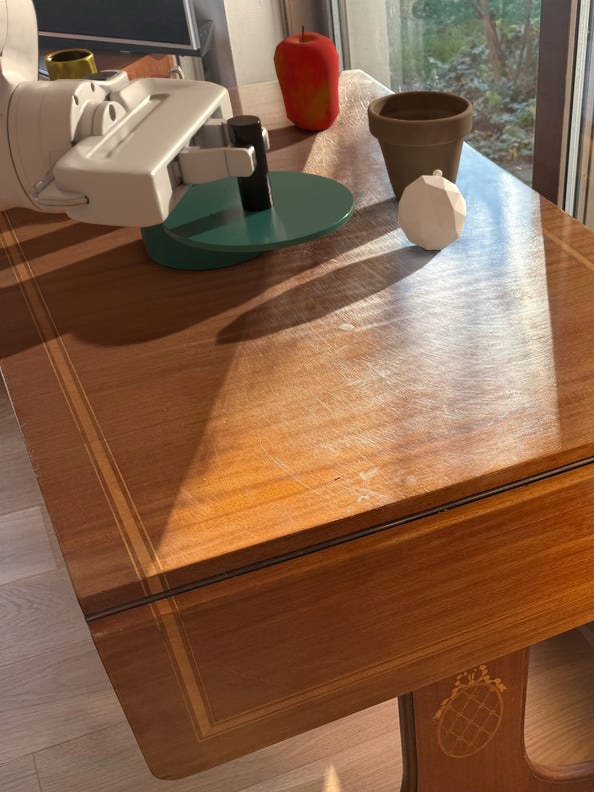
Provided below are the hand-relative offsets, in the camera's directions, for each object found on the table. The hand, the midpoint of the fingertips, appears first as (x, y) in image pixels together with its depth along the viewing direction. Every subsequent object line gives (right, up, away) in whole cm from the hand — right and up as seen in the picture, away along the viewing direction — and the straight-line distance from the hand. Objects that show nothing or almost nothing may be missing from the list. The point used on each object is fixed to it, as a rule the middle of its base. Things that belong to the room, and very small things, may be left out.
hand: (260, 150), depth 72 cm
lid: (-1, -3, +3) cm, 4 cm away
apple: (-6, +34, +61) cm, 70 cm away
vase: (-29, +19, +47) cm, 58 cm away
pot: (-13, +7, +35) cm, 38 cm away
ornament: (+11, +6, +33) cm, 35 cm away
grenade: (-23, +26, +54) cm, 65 cm away
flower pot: (+10, +15, +42) cm, 46 cm away
